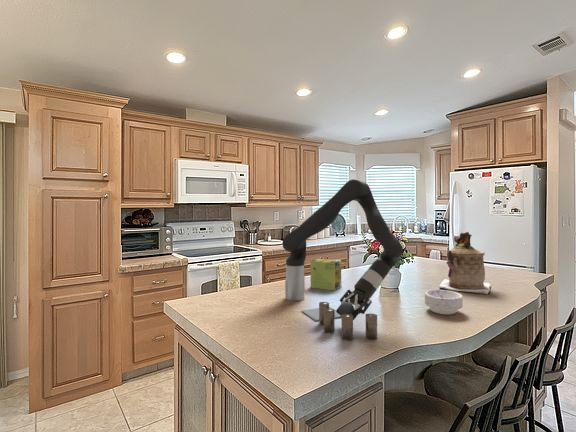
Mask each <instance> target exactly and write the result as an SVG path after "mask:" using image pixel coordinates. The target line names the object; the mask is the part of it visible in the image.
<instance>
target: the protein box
mask: <svg viewBox="0 0 576 432" xmlns="http://www.w3.org/2000/svg"><path fill="white" fill-rule="evenodd" d="M309 269H310V282H309V283H310V284H309V285H310V288H311V289H312V288H313V289H321V290H329V291H337V290H338V289H339V288H342V260H340V259H327V258H324V259H323V258H317V259H313V260H310V268H309Z"/></svg>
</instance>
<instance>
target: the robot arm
mask: <svg viewBox="0 0 576 432" xmlns="http://www.w3.org/2000/svg"><path fill="white" fill-rule="evenodd" d="M353 201H355V202H357V203H358V204H359V206H360V208H361V209H362V210H363V212H364V214H365V218H366V219H365V220H366V223H367V225H368V229H369V230H370V232H371V234H372V236H373V237H374V239H375V240H376V242H378V243H380V245H381V246H382V249H383V251H382V252H381V254H380V255H379V256H378V257H377V259H376V260H374V261H373V262H372V263H371V265H370V266H369V267H368V269H367V270H366V271H364V273H363V274H362V275H361V276H360V278H359V279H358V280H357V281H356V283H355V284H354V290H353V291H351V290H350V289H347V290H346V292H345V293H344V294H343V295H342V296H341V297H340V299H339V301H340V305H341V304H342V303H343V302H349V303H351V304H352V305H353V306H354V310H353V311H352V312H351V315H353V321H355V320H356V318H357V317H358V316H359V315H360V314H362V315H364V314H366V312H367V310H368V309H369V307H370V306H371V304H372V303H373V301H372V299H371V298H372V297H373V295H374V294H375V293H376V291H377V290H378V288H379V287H380V286H381V284H382V282H383V281H384V280H385V278H386V277H387V275H388V274H389V273H390V271H391V270H392V269H393V268H394V266H395V265H396V264H397V263H398V261H400V258H401V257H402V255H403V253H404V252H403V251H404V249H403V246H402V243H401V242H400V241H399V239H398V238H397V237H396V236H395V234H393V233H392V231H391V229H390V228H389V225H388V224H387V222H386V220H385V219H384V217H383V216H382V213H381V212H380V210H379V208H378V206H377V204H376V201H375V198H374V196H373V192H372V191H371V188H370V186H369V183H367V182H366V181H363V180H360V179H357V178H353V179H349V180H348V181H347V182H346V183H344V184H343V185H342V187H340V189H338V191H337V192H336V193H335V194H334V195H333V196H332V197H331V198H330V199H328V200H327V201H326V202H325V203H324V204H322V206H321V207H319V208H318V209H317V210H315V211H314V212H313V213H312V214H311V215H310V216H309V217H308V218H306V220H304V221H303V222H302V223H301V224H300V225H299V226H298V227H296V228H295V229H293V230H292V231H291V232H289V233H287V234H286V235H285V236H284V237H283V239H282V248H283V249H284V250H285V251H286V252H289V253H290V254H289V256H288V257H287V258H286V261H285V268H286V269H285V270H286V271H285V273H286V275H285V277H286V278H285V280H284V287H285V288H284V293H285V295H284V296H285V300H288V301H290V302H300V301H304V300H305V296H306V295H305V289H306V288H305V260H306V258H307V240H308V239H309V238H311V237H313V236H314V235H315V236H316V235H317V234H319V233H321V232H322V231H324V230H326V229H327V228H329V226H330V225H332V224H333V223H334V222H335V221H336V220H337V217H338V216H339V213H340V212H341V211H342V209H343V208H344V207H346V206H347V205H348V204H349V203H351V202H353ZM338 309H339V306H338V307H337V309H335V310H336V312H337V313H338V314H339V310H338ZM339 315H340V314H339Z"/></svg>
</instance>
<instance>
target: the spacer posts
mask: <svg viewBox="0 0 576 432" xmlns="http://www.w3.org/2000/svg"><path fill="white" fill-rule="evenodd" d="M329 307H330V303H329V302H327V301H320V302H318V308H319V321H318V323H319V325H322V326H323V333H326V334H333V333H335V331H336V329H335V328H336V327H335V326H336V324H335V321H336V319H335V310H336V309H335V308H333V309H331V308H332V307H331V308H329ZM334 309H335V310H334ZM341 339H342V340H343V341H353V339H354V320H353V315H351V314H343V315H342V318H341ZM365 339H366V340H369V341H375V340H378V314H376V313H371V312H370V313H365Z"/></svg>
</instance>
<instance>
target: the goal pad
mask: <svg viewBox="0 0 576 432" xmlns="http://www.w3.org/2000/svg"><path fill="white" fill-rule="evenodd" d="M329 308H331V309H334V310H335V320H337V319H342V317H341V316H340V315H339V314H338V313H337V312H336V310H337V309H335V308H333V307H331V306H329ZM301 313H303V315H305V316H307V317H308V318H310V319H312V320H313V321H315V322H319V307H317V308H310V309H302V310H301Z"/></svg>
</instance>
